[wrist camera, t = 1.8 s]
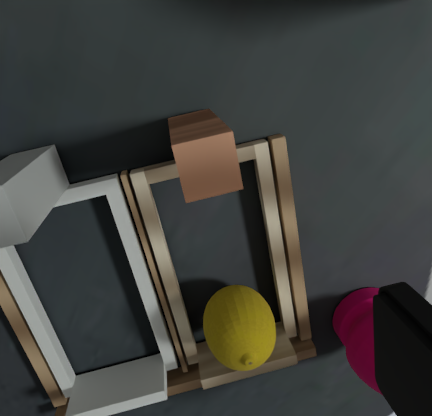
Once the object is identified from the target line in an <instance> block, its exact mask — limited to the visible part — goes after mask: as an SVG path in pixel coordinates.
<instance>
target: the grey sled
mask: <svg viewBox="0 0 432 416" xmlns="http://www.w3.org/2000/svg"><path fill="white" fill-rule="evenodd" d="M102 195H106V196H107V199H108V202H109V205H110V208H111V211H112V214H113V216H114V219H115V222H116V225H117V228H118V231H119V234H120V237H121V240H122V243H123V245H124V248H125V251H126V254H127V257H128V260H129V263H130V266H131V269H132V272H133V275H134V277H135V280H136V283H137V286H138V289H139V292H140V295H141V298H142V301H143V304H144V306H145V309H146V312H147V315H148V318H149V321H150V324H151V327H152V330H153V333H154V336H155V338H156V341H157V344H158V347H159V350H160V354H156V355H153V356H149V357H145V358H141V359H137V360H134V361H130V362H126V363H122V364H119V365H115V366H111V367H107V368H104V369H100V370H96V371H92V372H88V373H85V374H81V375H77V376H76V375H75V373H74V371H73V369H72V367H71V365H70V363H69V361H68V358H67V356H66V354H65V352H64V350H63V348H62V346H61V344H60V342H59V340H58V337H57V335H56V333H55V331H54V329H53V327H52V325H51V323H50V321H49V319H48V317H47V314H46V312H45V310H44V308H43V306H42V304H41V302H40V300H39V298H38V296H37V293H36V291H35V289H34V287H33V285H32V283H31V281H30V279H29V277H28V275H27V272H26V270H25V268H24V266H23V264H22V262H21V260H20V258H19V256H18V254H17V252H16V249H15V247H14V245H16V244H21V243H25V242H28V241H29V240H30V238H31V237H32V235H33V234H34V233H35V231H36V230H37V229H38V227H39V226H40V225H41V223H42V222H43V220H44V219H45V218H46V216H47V215H48V214H49V212H50V211H51V209H52V208H53V207H56V206H61V205H65V204H69V203H73V202H77V201H81V200H86V199H90V198H94V197H98V196H102ZM0 270H1V272H2V274H3V276H4V278H5V280H6V282H7V284H8V286H9V288H10V290H11V292H12V294H13V296H14V298H15V299H16V301H17V303H18V305H19V307H20V309H21V311H22V313H23V315H24V317H25V319H26V321H27V323H28V325H29V327H30V329H31V331H32V333H33V335H34V337H35V339H36V341H37V343H38V345H39V347H40V349H41V351H42V353H43V355H44V357H45V359H46V361H47V362H48V364H49V366H50V368H51V370H52V372H53V374H54V376H55V378H56V380H57V382H58V384H59V386H60V388H61V390H62V392H63V394H64V396H65V398H67V397H70V400H69V403H68V407H67V411H66V415H65V416H108V415H112V414H116V413H119V412H123V411H127V410H130V409H134V408H138V407H141V406H145V405H149V404H152V403H156V402H160V401H163V400H167V371H168V370H172V369H176V368H178V364H177V356H176V353H175V350H174V347H173V344H172V340H171V337H170V334H169V331H168V328H167V325H166V322H165V319H164V316H163V313H162V310H161V306H160V303H159V300H158V297H157V294H156V291H155V288H154V285H153V282H152V279H151V276H150V272H149V269H148V266H147V263H146V260H145V257H144V254H143V251H142V248H141V245H140V242H139V238H138V235H137V232H136V229H135V226H134V223H133V220H132V217H131V214H130V211H129V208H128V204H127V201H126V198H125V195H124V192H123V189H122V186H121V183H120V180H119V177H118V174H117V173H116V174H112V175H108V176H104V177H100V178H95V179H91V180H87V181H83V182H79V183H74V184H69V182H68V179H67V176H66V174H65V171H64V169H63V166H62V163H61V161H60V158H59V155H58V153H57V150H56V148H55V145H50V146H45V147H41V148H37V149H32V150H28V151H24V152H19V153H15V154H11V155H9V156H8V157H6V158H4V159H3V160H1V161H0Z"/></svg>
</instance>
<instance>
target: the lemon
mask: <svg viewBox="0 0 432 416" xmlns="http://www.w3.org/2000/svg"><path fill="white" fill-rule="evenodd" d="M203 330H204V335H205V338H206V341H207V344H208V346H209V348H210V350H211V352H212V353H213V355H214V356H215V357H216V359H217V360H218V361H219V362H220V363H222V364H223V365H224V366H226V367H228V368H230V369H233V370H237V371H248V370H252V369H255V368H257V367H259V366H260V365H262V364H263V363H264V362H265V361H266V360H267V359H268V358H269V357H270V355H271V353H272V352H273V349H274V346H275V342H276V326H275V320H274V317H273V314H272V311H271V309H270V307H269V305H268V303H267V302H266V301H265V299H264V298H263V297H262V296H261V295H260V294H259V293H258V292H256V291H255V290H253V289H252V288H249V287H246V286H243V285H230V286H227V287H224V288H222V289H220V290H219V291H217V292H216V293H215V294H214V295H213V296H212V297H211V298H210V300H209V301H208V303H207V305H206V308H205V311H204V315H203Z"/></svg>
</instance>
